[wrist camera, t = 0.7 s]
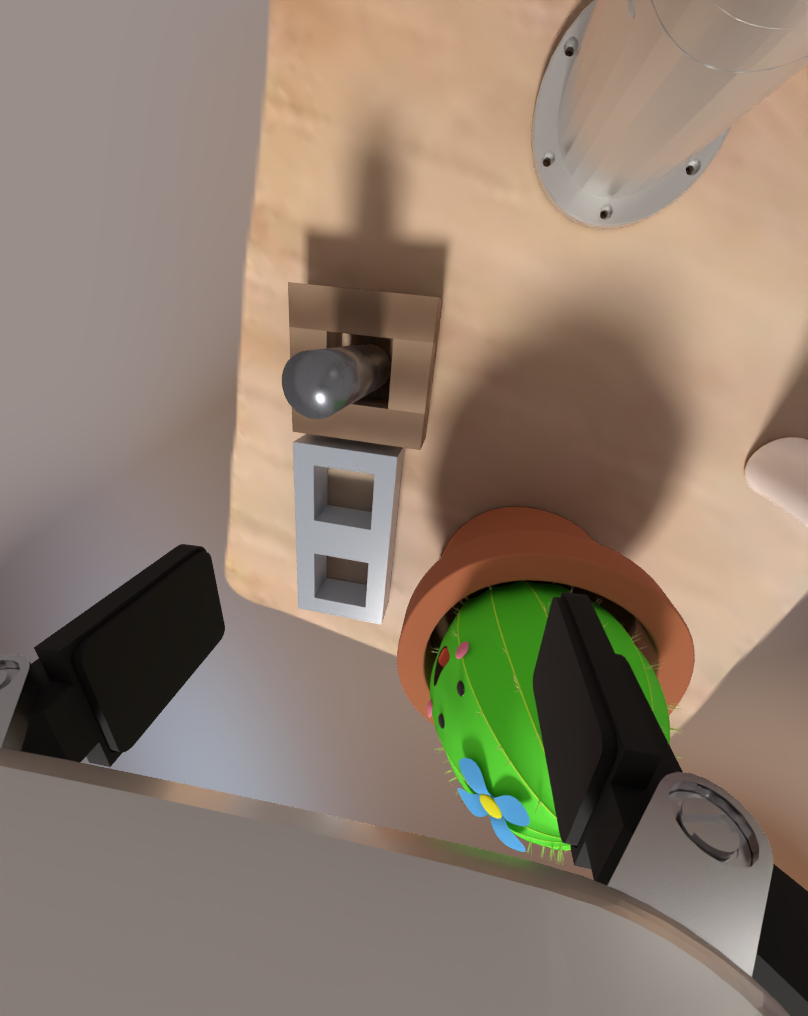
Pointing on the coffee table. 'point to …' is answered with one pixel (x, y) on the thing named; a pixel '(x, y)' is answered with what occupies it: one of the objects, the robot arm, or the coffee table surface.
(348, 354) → the metal peg
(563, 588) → the potted cactus
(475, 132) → the coffee table surface
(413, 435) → the socket block
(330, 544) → the peg rack
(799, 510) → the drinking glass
